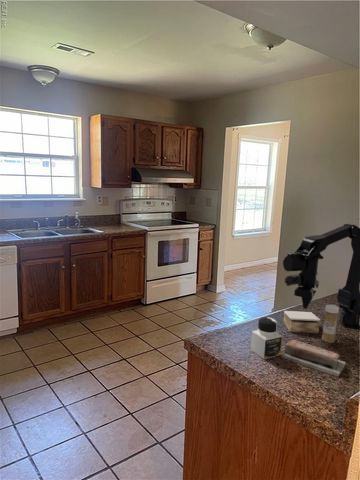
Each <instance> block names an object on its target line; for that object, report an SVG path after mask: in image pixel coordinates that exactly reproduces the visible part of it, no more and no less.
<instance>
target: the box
mask: <svg viewBox="0 0 360 480" xmlns="http://www.w3.org/2000/svg"><path fill="white" fill-rule="evenodd" d="M283 324H284V325H285V327H287V329H288V330H289V332H290V333H307V334H319V331H320V330H319V329H320V321H305V320H291V319H290V318H289V317H288V316H287V315H286V314H285V313H284V312H283Z"/></svg>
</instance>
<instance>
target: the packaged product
mask: <svg viewBox="0 0 360 480" xmlns="http://www.w3.org/2000/svg"><path fill="white" fill-rule="evenodd" d="M281 358H282V359H285V360H288V361H290V362H293V363H297V364H299V365H302V366H305V367H308V368H310V369H314V370H316V371H319V372H322V373H325V374H328V375H331V376H334V377H339V376H340V375H341V373H342V372H343V369H345V366H346V361H345V360H344V361H343V360H340V359H339V358H340V354H339V353H336V352H334V351H331V350H327V349H324V348H320V347H318V346H315V345H313V344H308V343H306V342H302V341H299V340H296V339H290V340H289V341H288V342H287V343H286V344H285V346H284V352H283V353H282V355H281Z"/></svg>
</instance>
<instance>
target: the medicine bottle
mask: <svg viewBox="0 0 360 480" xmlns="http://www.w3.org/2000/svg"><path fill="white" fill-rule="evenodd" d="M277 328H278V322H277V320H275V319H274V318H272V317H266V316H264V317H261V318H259V319H258V325H257V329H256V330H255V329H254V330H252V332H251V342H250V350H251V352H253V353H255V354H256V355H258V356H259V357H260V358H262V359H263V360H267V359H271V358H274V357H277V356H281V349H282V348H281V347H282V338H283V337H282V335H281V334H279V333H278V332H277Z"/></svg>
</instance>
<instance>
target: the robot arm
mask: <svg viewBox="0 0 360 480" xmlns="http://www.w3.org/2000/svg"><path fill="white" fill-rule="evenodd" d="M346 238H349V239H351V241H350V246H351V248H352V256H351V260H350V265H349V269H348V273H347V278H346V281H345V282H346V283H345V285H344V286H343V287H342V288H339V289H338V291H337V296H336V298H337V303H338V307H339V309H341V311H340V313H339V320H338V322H339V323H340V324H341V325H342V326H343V327H344V328H351V329H352V328H353V329H354V328H355V329H360V227H359V226H357V225H356V224H351V223H345V224H343V225H342V226H339V227H337V228H334V229H332V230H329V231H327V232H325V233H323V234H318V235H317V234H316V235H309V236H308V235H307V236H305V237H303V238H302V241H301V242H300V244H299V245H298V247H297V248H295V249H296V250H294V253H292V252H287V256H285V257H284V258H283V261H282V266H283V269H284V271H286V272H299V273H297V274H291V275H286V276H285V277H284V283H285V284H286V287H290V286H295V285H297V287H296V288H295V289H294V293H293V295H294V296H295V297H299V298H301V302H302V306H303V309H304V310H307V309H308V307H309V305H310V303H311V302H312V300H313V299H314V296H315V294H316V293H317V290H314V289H315V288H316V289H319V285H320V281H319V280H318V279H317V276H318V274H319V273H318V268H319V267H318V266H319V260H323V259H324V256H323V255H322V254H321V253H322V252H324V251H325V250H326V249H327V247H328V246H330V245H332V244H334V243H336V242H339V241H342V240H344V239H346Z"/></svg>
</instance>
